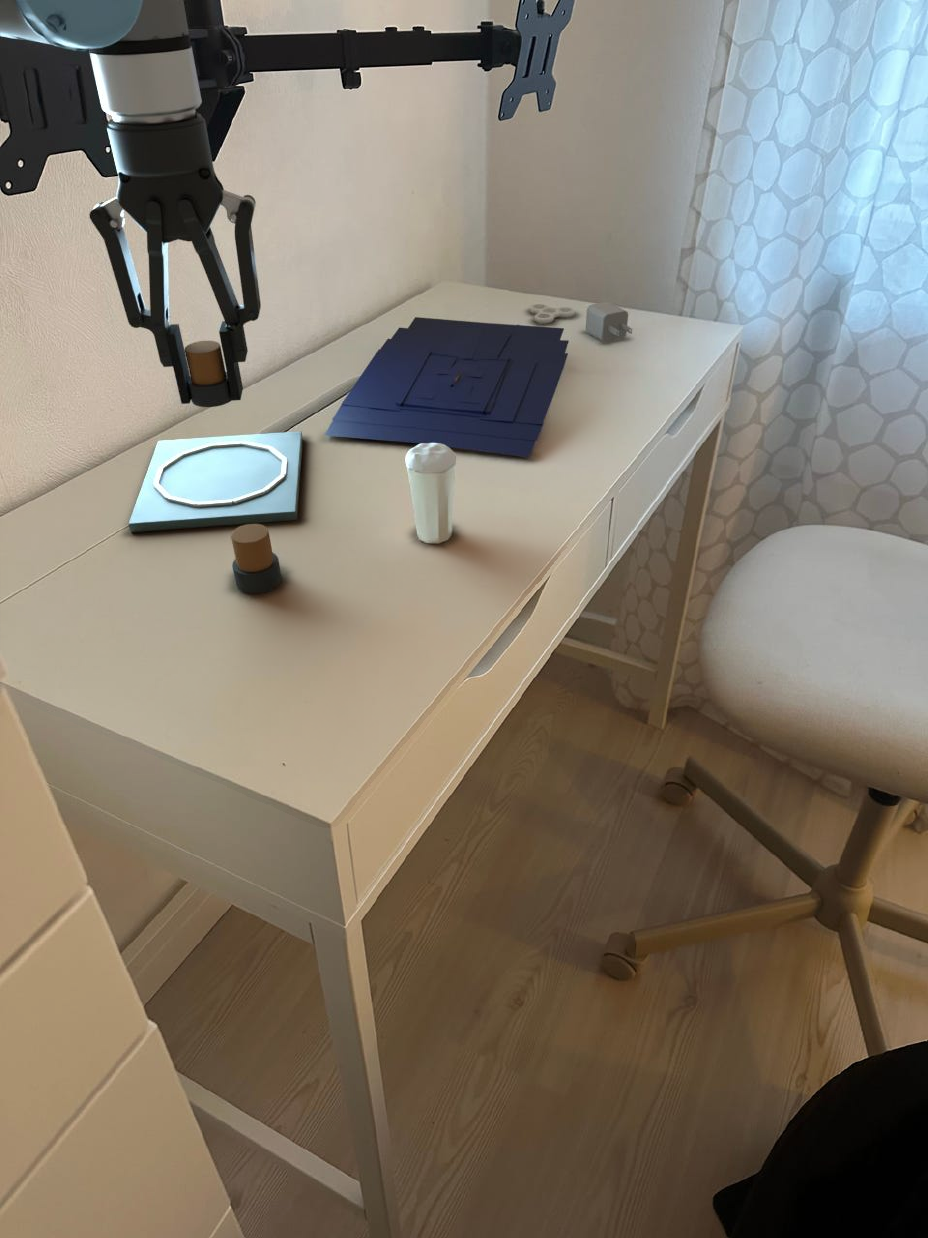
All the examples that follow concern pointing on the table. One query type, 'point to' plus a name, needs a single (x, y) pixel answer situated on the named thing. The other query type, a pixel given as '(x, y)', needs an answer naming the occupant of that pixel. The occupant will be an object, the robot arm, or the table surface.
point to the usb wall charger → (607, 322)
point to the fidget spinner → (549, 312)
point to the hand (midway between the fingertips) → (212, 395)
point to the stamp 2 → (254, 559)
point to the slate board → (220, 482)
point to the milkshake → (432, 490)
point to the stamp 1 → (207, 374)
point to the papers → (457, 386)
